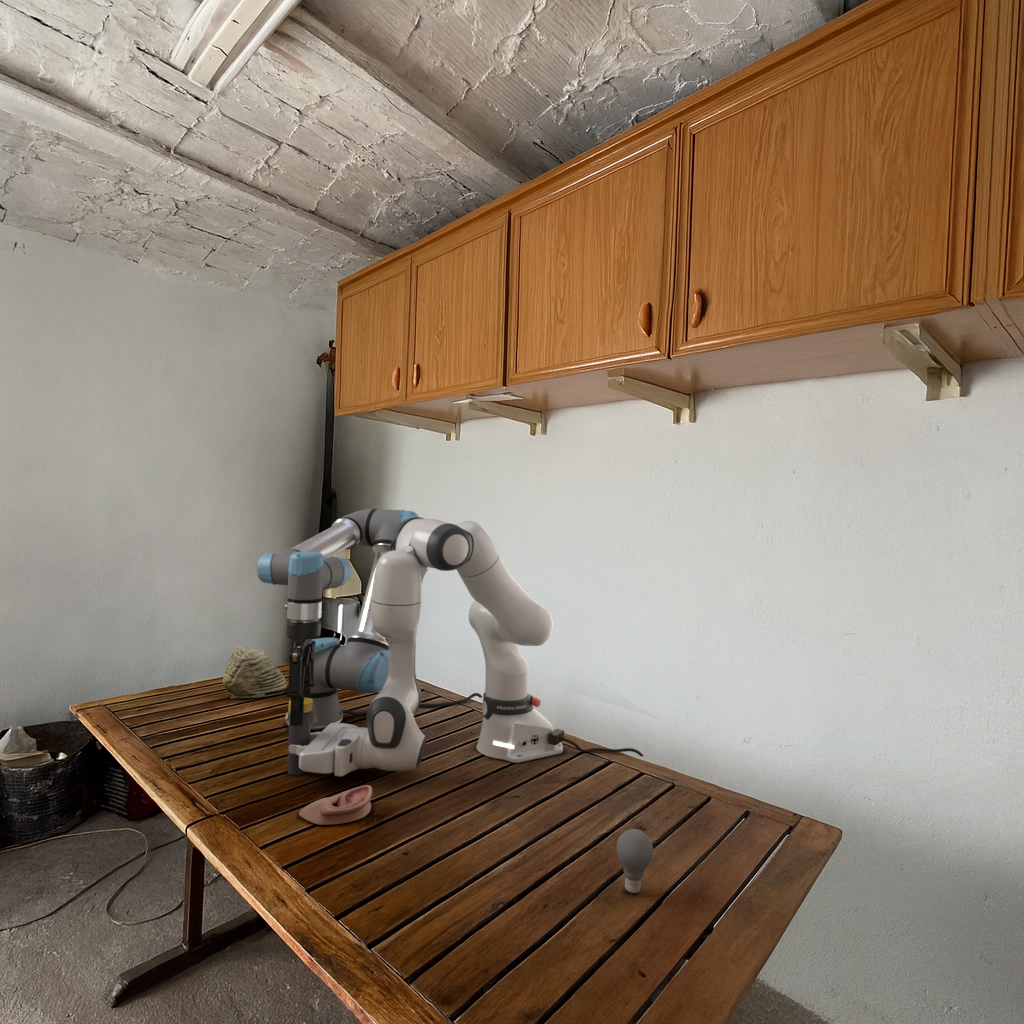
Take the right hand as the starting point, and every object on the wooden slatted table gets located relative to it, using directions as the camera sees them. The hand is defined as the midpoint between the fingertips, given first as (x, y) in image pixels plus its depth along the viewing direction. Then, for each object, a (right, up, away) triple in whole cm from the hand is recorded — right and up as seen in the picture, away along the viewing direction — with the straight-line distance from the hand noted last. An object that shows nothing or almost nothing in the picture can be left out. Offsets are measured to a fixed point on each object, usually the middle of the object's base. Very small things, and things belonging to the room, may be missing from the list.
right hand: (295, 743), depth 146 cm
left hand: (+1, +5, 0) cm, 5 cm away
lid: (+1, +9, 0) cm, 9 cm away
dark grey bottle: (+1, -6, 0) cm, 6 cm away
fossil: (-31, -4, +52) cm, 61 cm away
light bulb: (+70, -10, -40) cm, 81 cm away
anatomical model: (+14, -7, -18) cm, 24 cm away
